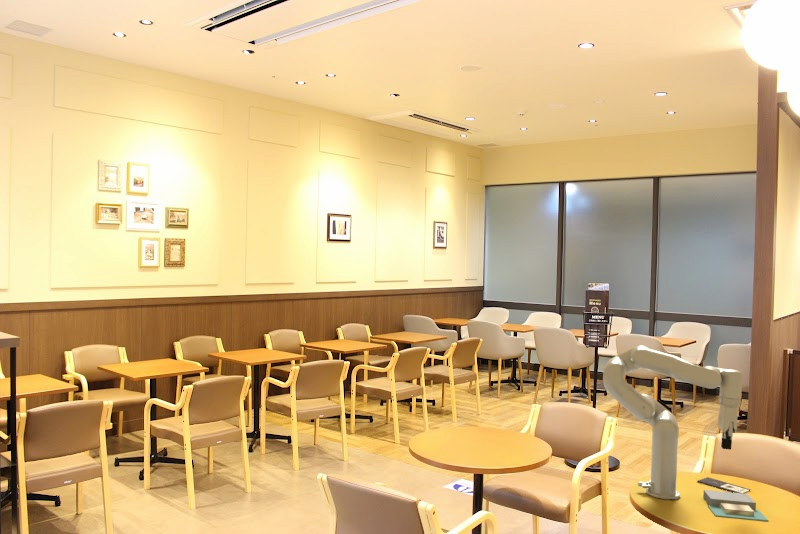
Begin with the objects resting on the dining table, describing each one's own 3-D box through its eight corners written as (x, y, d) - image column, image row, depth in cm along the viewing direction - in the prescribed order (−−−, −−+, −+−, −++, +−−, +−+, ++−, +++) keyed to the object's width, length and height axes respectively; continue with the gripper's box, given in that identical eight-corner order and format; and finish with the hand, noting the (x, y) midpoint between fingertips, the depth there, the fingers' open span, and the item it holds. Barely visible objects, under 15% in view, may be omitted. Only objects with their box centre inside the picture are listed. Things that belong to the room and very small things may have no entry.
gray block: (710, 506, 253) (710, 498, 253) (703, 497, 263) (703, 489, 263) (755, 510, 250) (755, 502, 250) (746, 501, 260) (747, 493, 260)
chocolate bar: (707, 477, 287) (750, 489, 273) (707, 479, 287) (750, 491, 273) (697, 480, 282) (740, 493, 268) (697, 483, 282) (740, 495, 268)
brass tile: (725, 513, 245) (725, 508, 245) (719, 506, 252) (719, 502, 252) (754, 515, 244) (754, 511, 244) (747, 508, 251) (747, 504, 251)
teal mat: (715, 516, 243) (715, 515, 243) (707, 506, 253) (707, 505, 253) (768, 521, 240) (768, 520, 240) (758, 511, 250) (758, 510, 250)
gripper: (714, 396, 264) (711, 442, 265) (723, 404, 250) (720, 452, 250) (735, 398, 263) (731, 444, 263) (745, 406, 248) (741, 455, 248)
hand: (726, 448), depth 257 cm, fingers closed
